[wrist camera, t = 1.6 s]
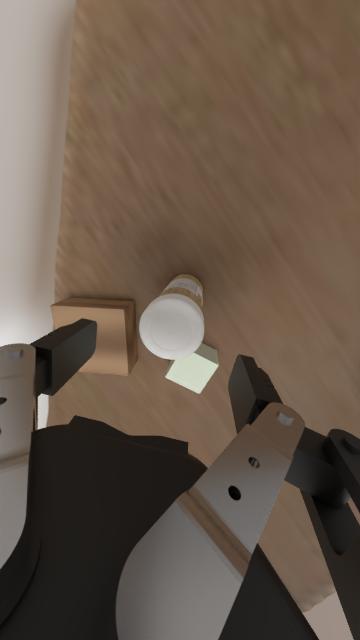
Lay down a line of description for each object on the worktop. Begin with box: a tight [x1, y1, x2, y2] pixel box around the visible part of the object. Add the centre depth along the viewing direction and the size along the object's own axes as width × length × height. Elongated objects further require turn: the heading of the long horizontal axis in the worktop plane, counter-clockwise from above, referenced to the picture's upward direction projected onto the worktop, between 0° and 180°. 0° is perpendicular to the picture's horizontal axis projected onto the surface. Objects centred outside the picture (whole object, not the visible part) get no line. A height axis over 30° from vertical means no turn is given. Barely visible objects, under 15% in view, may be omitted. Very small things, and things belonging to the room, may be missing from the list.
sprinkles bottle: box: [139, 274, 204, 360], centre depth 20 cm, size 5×5×14 cm
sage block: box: [165, 343, 219, 394], centre depth 28 cm, size 5×5×4 cm
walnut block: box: [51, 297, 137, 376], centre depth 28 cm, size 9×9×4 cm
